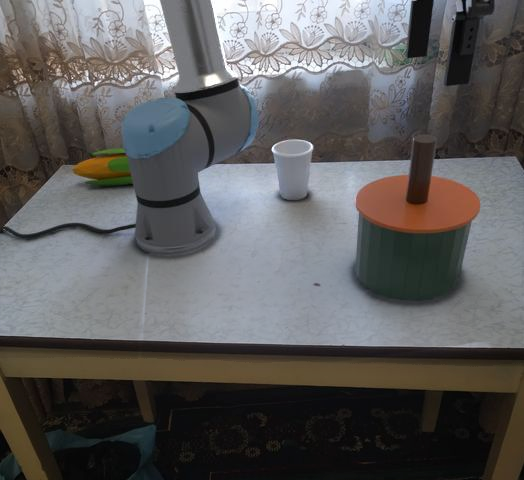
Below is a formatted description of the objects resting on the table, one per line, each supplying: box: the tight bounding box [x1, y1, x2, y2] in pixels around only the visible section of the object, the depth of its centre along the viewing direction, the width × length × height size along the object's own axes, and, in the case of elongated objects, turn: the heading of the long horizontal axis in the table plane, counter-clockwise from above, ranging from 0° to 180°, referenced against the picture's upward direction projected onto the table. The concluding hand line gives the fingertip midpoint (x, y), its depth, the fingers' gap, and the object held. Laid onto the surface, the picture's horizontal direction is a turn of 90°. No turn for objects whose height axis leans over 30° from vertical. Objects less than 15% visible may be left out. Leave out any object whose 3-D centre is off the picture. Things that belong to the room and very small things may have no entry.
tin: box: [354, 212, 473, 302], centre depth 83 cm, size 17×17×12 cm
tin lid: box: [354, 134, 481, 233], centre depth 76 cm, size 18×18×10 cm
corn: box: [71, 147, 133, 187], centre depth 120 cm, size 7×8×20 cm
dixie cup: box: [271, 139, 315, 201], centre depth 108 cm, size 8×8×10 cm
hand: (434, 69), depth 66 cm, fingers open, 13 cm apart
